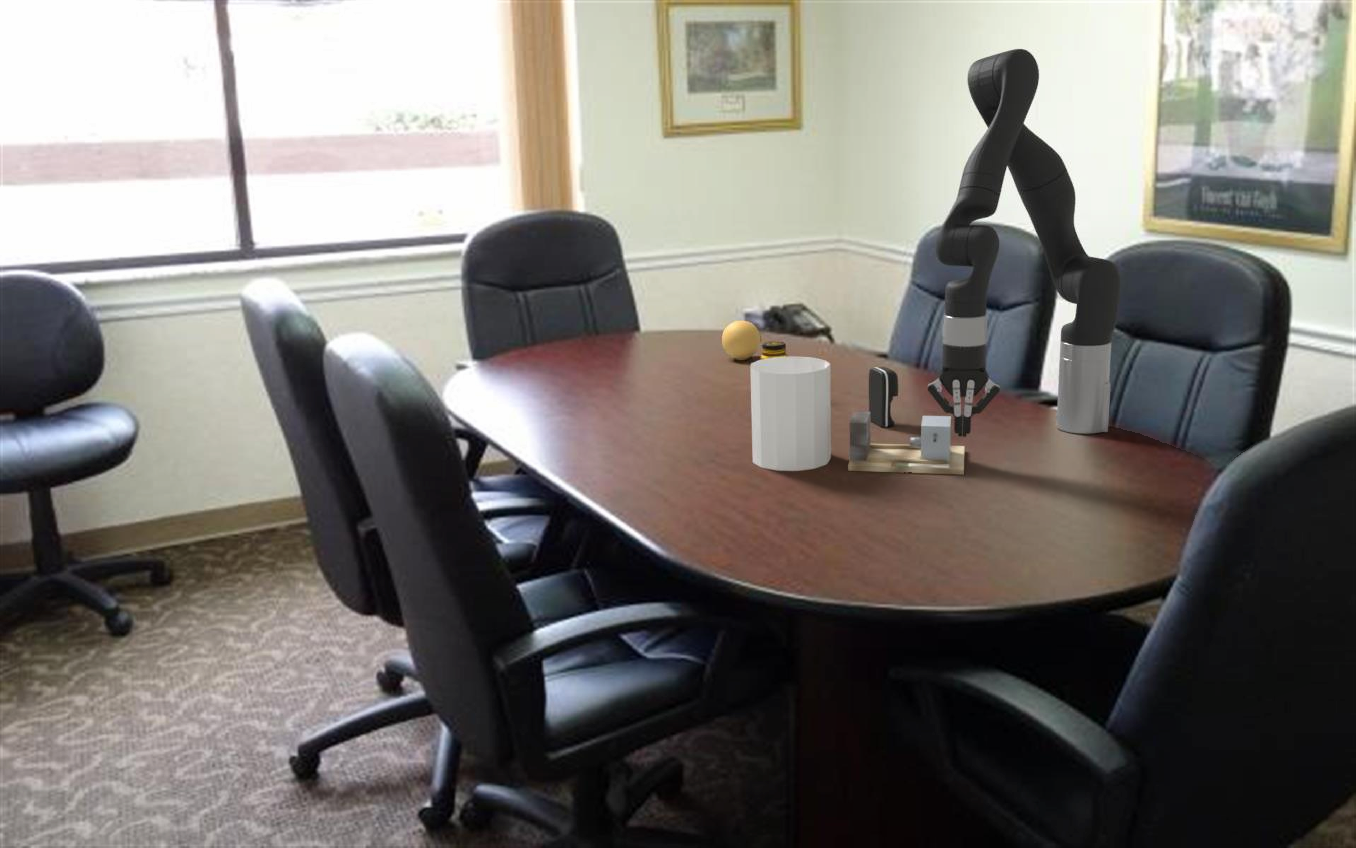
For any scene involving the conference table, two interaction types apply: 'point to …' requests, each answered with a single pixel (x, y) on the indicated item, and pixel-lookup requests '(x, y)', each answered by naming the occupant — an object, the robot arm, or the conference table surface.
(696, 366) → the conference table surface
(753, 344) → the stress ball
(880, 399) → the battery charger
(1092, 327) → the robot arm
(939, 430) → the block
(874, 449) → the wooden sliding jig
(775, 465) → the container
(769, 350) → the condiment
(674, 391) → the conference table surface
